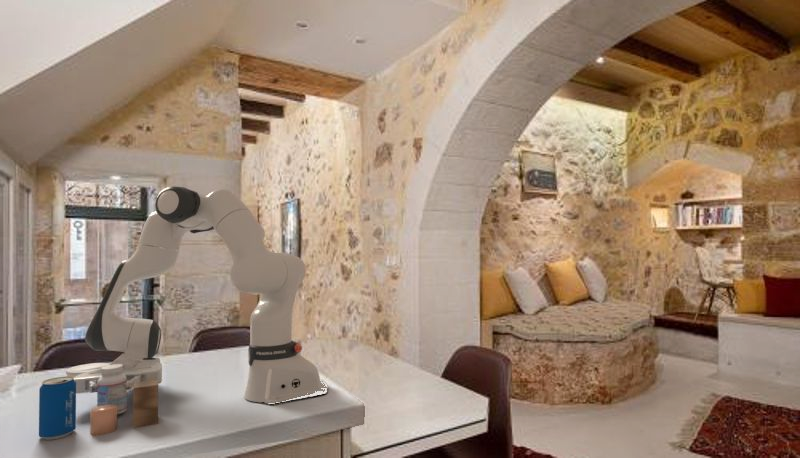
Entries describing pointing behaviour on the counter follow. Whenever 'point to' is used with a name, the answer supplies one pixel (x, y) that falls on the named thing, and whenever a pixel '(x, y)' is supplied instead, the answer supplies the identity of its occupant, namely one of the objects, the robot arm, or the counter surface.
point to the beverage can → (57, 407)
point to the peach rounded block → (103, 419)
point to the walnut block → (145, 403)
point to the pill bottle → (112, 387)
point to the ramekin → (85, 369)
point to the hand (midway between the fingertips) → (111, 387)
